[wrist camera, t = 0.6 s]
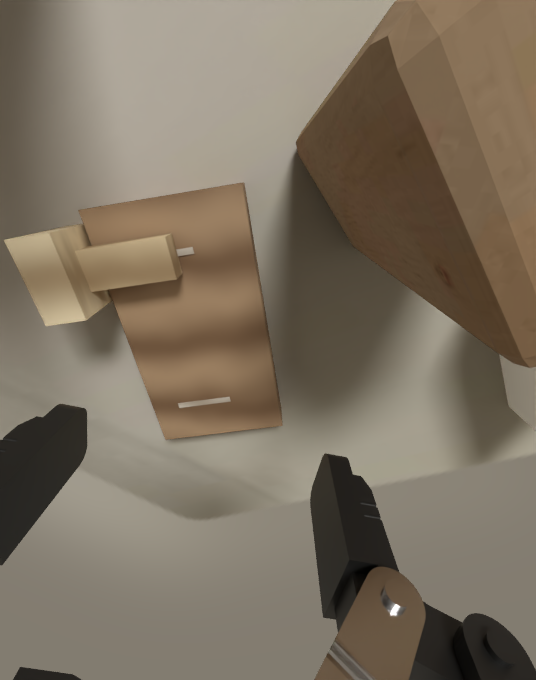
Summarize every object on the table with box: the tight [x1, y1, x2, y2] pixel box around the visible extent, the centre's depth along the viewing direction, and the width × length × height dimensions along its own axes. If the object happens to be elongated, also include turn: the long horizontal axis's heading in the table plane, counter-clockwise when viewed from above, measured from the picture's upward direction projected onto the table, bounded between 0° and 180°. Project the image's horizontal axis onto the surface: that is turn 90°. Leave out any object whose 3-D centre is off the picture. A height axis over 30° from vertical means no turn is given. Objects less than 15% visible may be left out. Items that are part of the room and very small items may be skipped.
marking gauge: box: [4, 224, 182, 326], centre depth 24 cm, size 6×10×6 cm, turn 98°
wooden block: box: [296, 0, 536, 368], centre depth 15 cm, size 10×10×20 cm
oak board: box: [78, 183, 282, 440], centre depth 29 cm, size 22×12×3 cm, turn 8°
